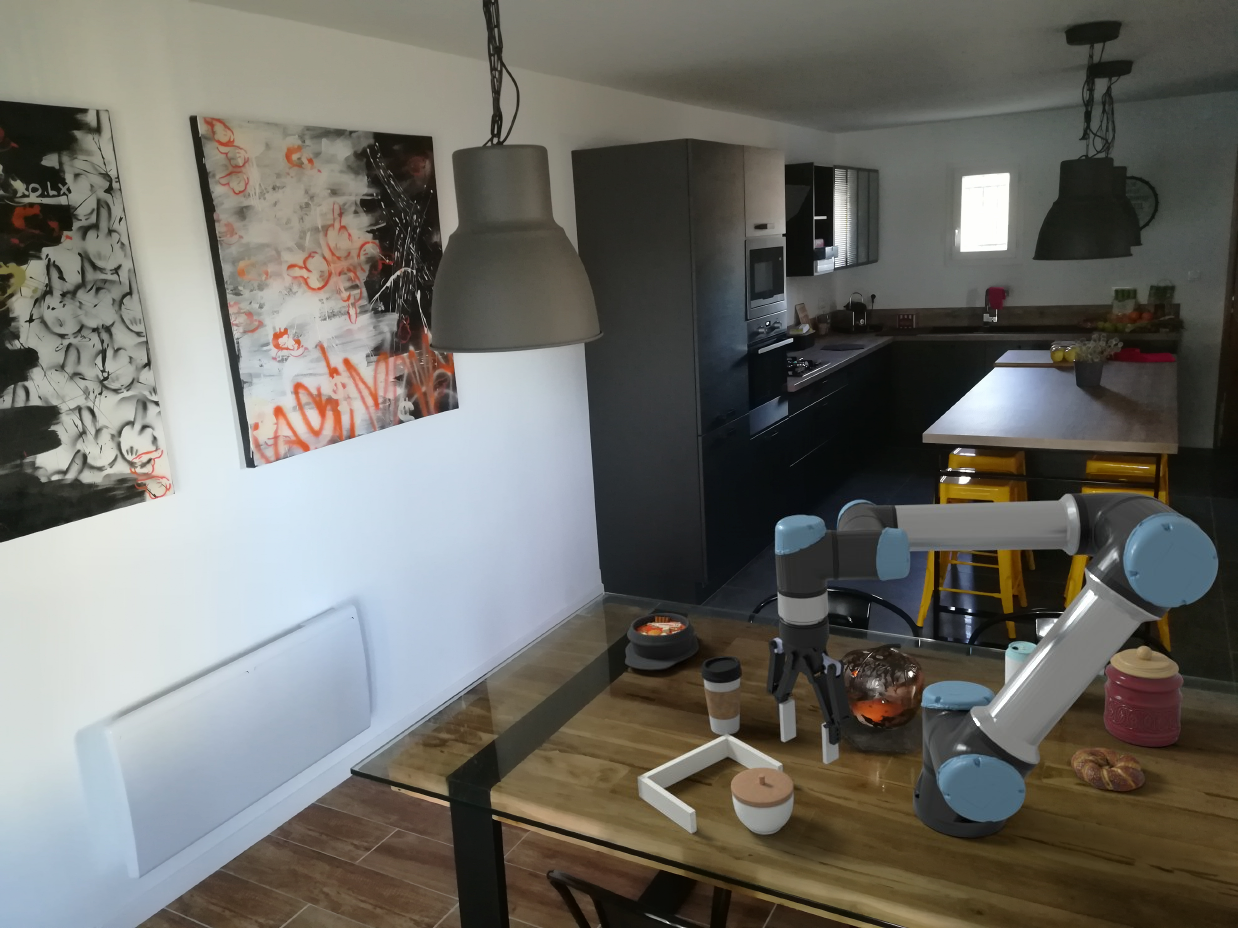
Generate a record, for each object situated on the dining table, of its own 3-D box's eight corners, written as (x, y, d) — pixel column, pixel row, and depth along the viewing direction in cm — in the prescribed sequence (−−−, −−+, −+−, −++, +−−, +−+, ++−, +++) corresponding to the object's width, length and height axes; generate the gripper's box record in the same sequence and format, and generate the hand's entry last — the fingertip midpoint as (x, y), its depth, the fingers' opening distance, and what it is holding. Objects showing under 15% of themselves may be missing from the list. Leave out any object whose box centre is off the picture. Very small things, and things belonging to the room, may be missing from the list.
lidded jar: (781, 849, 149) (778, 799, 147) (723, 832, 155) (719, 784, 153) (804, 814, 158) (802, 766, 156) (748, 799, 164) (745, 753, 162)
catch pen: (783, 783, 168) (782, 763, 167) (691, 833, 155) (689, 813, 155) (728, 751, 180) (727, 733, 179) (639, 796, 168) (637, 776, 167)
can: (1024, 710, 186) (1025, 656, 183) (997, 696, 192) (997, 644, 189) (1049, 701, 188) (1050, 648, 186) (1021, 688, 195) (1022, 636, 192)
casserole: (647, 631, 242) (645, 602, 240) (713, 638, 234) (711, 608, 232) (608, 672, 220) (605, 640, 218) (679, 681, 212) (676, 648, 210)
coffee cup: (744, 738, 184) (739, 671, 181) (703, 737, 186) (698, 671, 183) (746, 718, 192) (742, 653, 189) (707, 717, 194) (702, 653, 191)
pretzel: (1058, 775, 163) (1058, 757, 163) (1087, 752, 170) (1087, 734, 169) (1127, 802, 154) (1127, 783, 153) (1155, 777, 160) (1156, 758, 159)
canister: (1187, 726, 175) (1192, 642, 171) (1171, 755, 166) (1175, 667, 162) (1113, 708, 184) (1116, 627, 180) (1094, 735, 174) (1097, 651, 171)
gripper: (874, 627, 132) (878, 766, 137) (771, 592, 149) (778, 717, 154) (840, 643, 127) (845, 785, 132) (738, 605, 144) (746, 732, 149)
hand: (809, 748), depth 143 cm, fingers open, 8 cm apart
